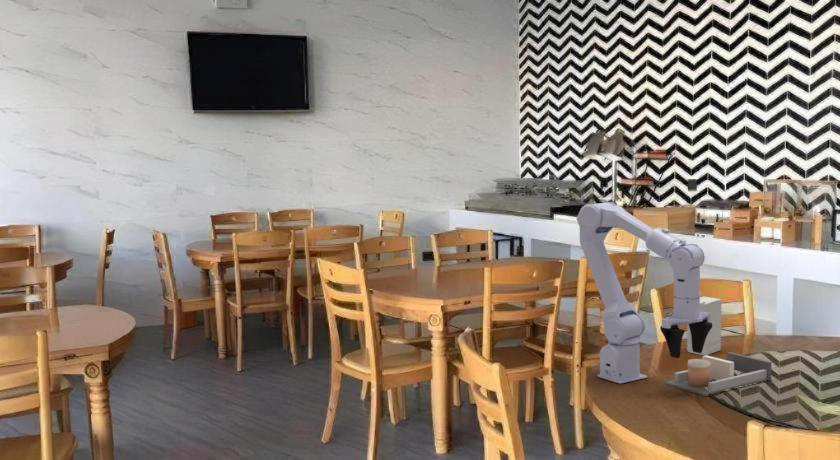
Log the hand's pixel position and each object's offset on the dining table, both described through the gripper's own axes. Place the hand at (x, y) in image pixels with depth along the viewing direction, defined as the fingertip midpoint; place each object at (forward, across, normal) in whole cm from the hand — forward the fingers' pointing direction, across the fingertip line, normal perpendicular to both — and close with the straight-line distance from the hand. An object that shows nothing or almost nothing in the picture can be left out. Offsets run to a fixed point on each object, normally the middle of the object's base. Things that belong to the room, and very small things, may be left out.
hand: (686, 354), depth 185 cm
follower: (+8, +11, 0) cm, 13 cm away
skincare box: (+9, +32, +21) cm, 40 cm away
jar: (+8, +5, 0) cm, 9 cm away
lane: (+8, +11, 0) cm, 14 cm away
